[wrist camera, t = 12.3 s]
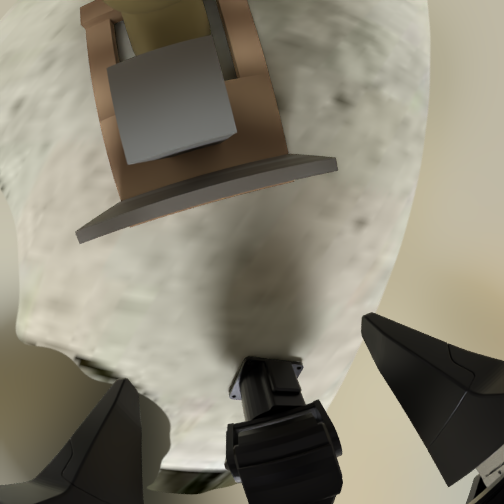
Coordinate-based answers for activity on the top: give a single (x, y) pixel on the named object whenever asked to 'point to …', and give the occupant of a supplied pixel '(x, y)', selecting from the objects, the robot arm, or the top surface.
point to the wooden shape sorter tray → (186, 121)
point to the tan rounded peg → (161, 22)
